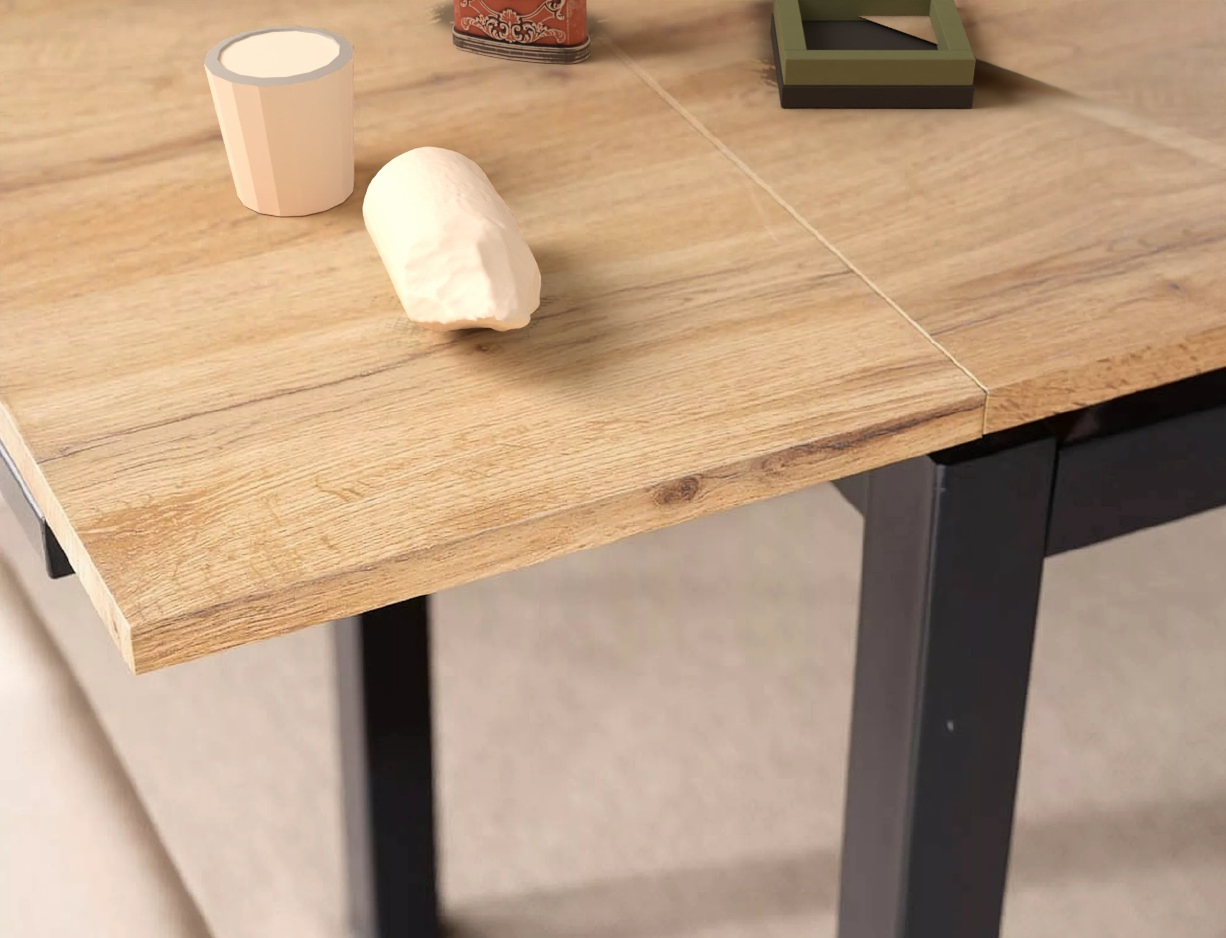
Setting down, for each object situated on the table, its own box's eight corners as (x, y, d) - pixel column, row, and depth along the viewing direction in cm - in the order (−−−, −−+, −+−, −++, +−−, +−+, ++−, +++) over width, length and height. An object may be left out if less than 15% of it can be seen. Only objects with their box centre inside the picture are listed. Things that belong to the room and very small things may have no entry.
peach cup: (231, 231, 81) (210, 91, 77) (218, 166, 86) (197, 31, 82) (378, 211, 83) (364, 73, 78) (356, 148, 88) (342, 15, 84)
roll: (429, 408, 69) (418, 287, 66) (366, 265, 79) (354, 151, 75) (573, 381, 71) (570, 261, 68) (495, 243, 80) (489, 131, 77)
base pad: (946, 32, 99) (951, -14, 98) (972, 108, 91) (978, 59, 90) (770, 32, 99) (772, -14, 98) (780, 108, 91) (783, 59, 90)
